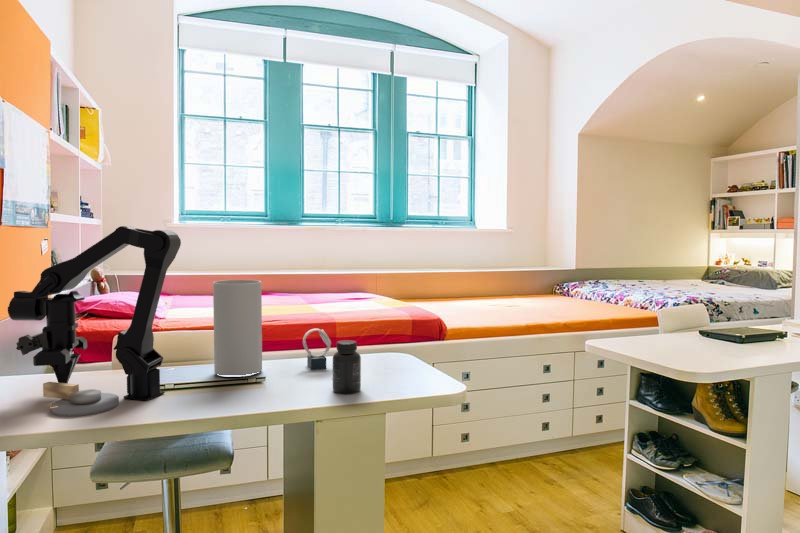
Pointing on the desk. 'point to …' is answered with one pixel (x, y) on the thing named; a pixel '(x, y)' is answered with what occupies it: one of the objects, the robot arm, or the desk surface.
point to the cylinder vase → (237, 327)
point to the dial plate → (84, 406)
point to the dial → (70, 393)
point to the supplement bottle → (346, 368)
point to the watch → (317, 359)
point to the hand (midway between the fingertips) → (63, 387)
